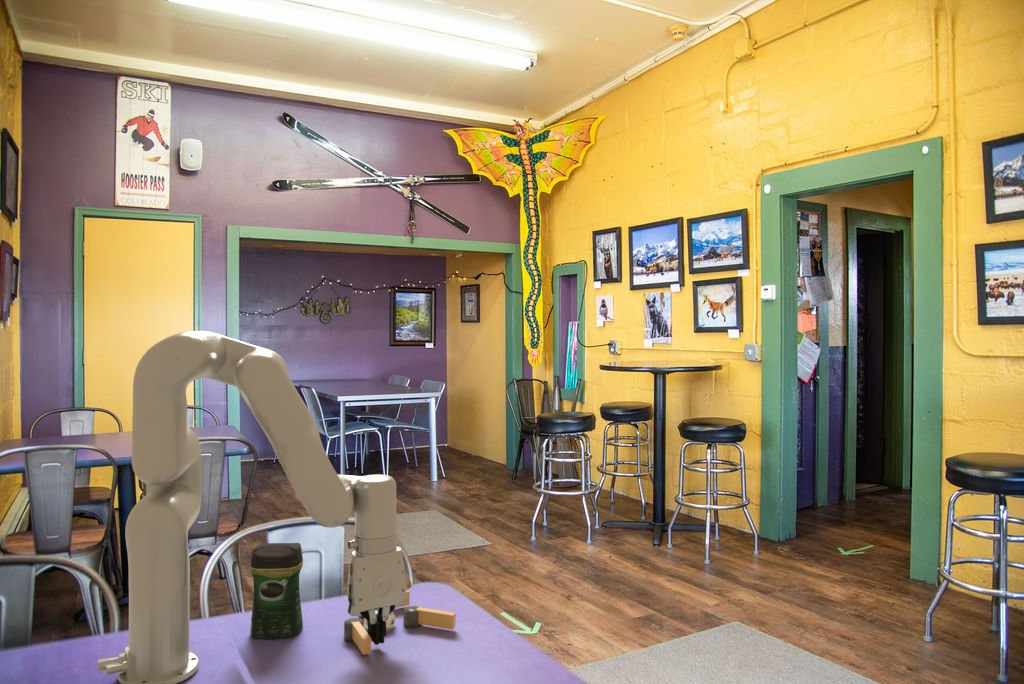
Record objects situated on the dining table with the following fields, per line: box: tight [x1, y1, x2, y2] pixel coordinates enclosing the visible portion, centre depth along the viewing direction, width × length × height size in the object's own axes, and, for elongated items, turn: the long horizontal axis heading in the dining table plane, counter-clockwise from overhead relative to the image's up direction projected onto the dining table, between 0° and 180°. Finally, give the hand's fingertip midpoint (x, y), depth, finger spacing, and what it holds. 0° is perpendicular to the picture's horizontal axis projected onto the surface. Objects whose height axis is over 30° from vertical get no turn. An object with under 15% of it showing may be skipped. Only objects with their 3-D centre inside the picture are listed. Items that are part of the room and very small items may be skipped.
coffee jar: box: [249, 542, 304, 641], centre depth 140 cm, size 10×8×19 cm
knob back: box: [358, 589, 411, 619], centre depth 150 cm, size 11×4×3 cm, turn 122°
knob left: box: [343, 617, 372, 655], centre depth 134 cm, size 11×4×3 cm, turn 28°
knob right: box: [402, 605, 457, 630], centre depth 143 cm, size 11×4×3 cm, turn 71°
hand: (377, 641), depth 133 cm, fingers closed
